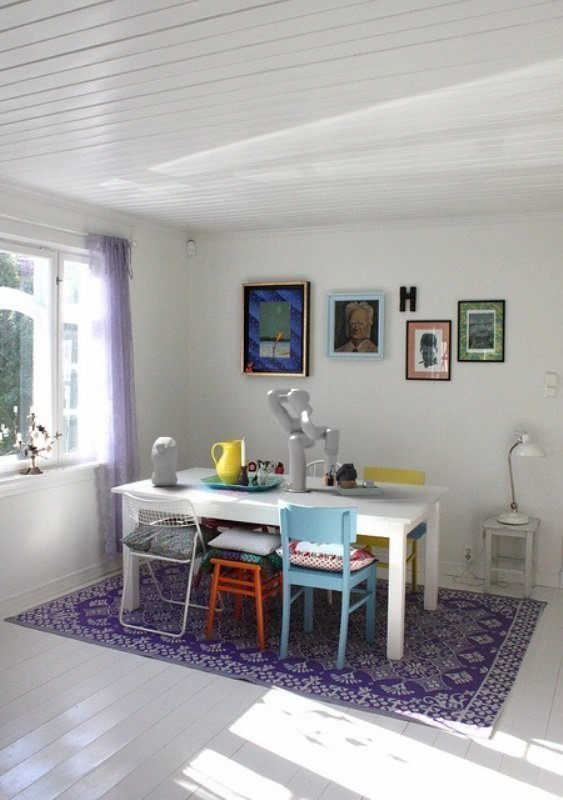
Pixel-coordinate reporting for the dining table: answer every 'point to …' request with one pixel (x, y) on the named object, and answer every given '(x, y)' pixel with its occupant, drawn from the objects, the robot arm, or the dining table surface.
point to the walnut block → (348, 485)
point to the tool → (346, 473)
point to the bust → (164, 462)
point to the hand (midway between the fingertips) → (329, 484)
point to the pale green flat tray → (359, 490)
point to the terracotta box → (325, 480)
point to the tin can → (368, 484)
